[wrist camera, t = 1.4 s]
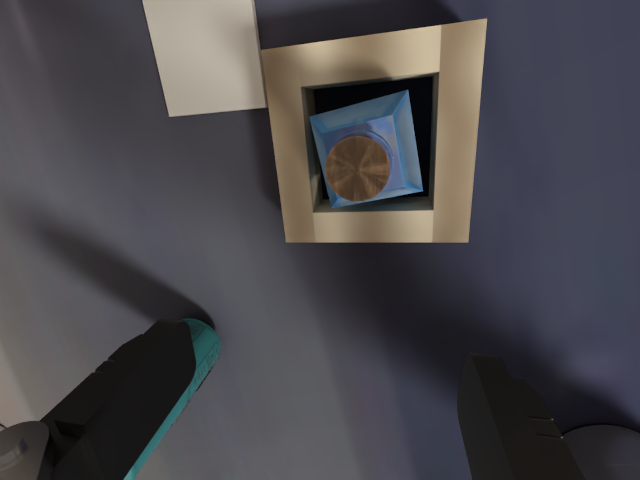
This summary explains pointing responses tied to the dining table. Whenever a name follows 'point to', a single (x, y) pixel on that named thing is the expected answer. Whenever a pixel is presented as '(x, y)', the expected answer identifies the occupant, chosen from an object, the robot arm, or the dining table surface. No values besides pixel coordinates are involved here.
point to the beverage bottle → (206, 356)
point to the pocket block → (372, 67)
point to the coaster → (207, 55)
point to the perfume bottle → (368, 150)
